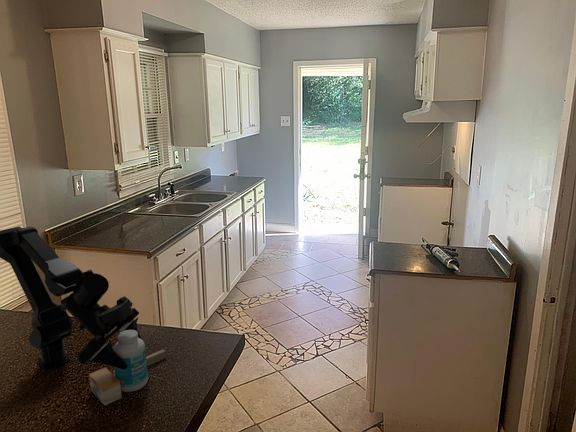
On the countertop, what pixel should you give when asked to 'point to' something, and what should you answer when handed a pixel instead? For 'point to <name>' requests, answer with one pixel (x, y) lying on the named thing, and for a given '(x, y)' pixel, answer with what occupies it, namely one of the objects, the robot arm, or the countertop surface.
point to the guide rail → (153, 358)
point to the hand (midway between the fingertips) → (135, 358)
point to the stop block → (105, 386)
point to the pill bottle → (131, 361)
